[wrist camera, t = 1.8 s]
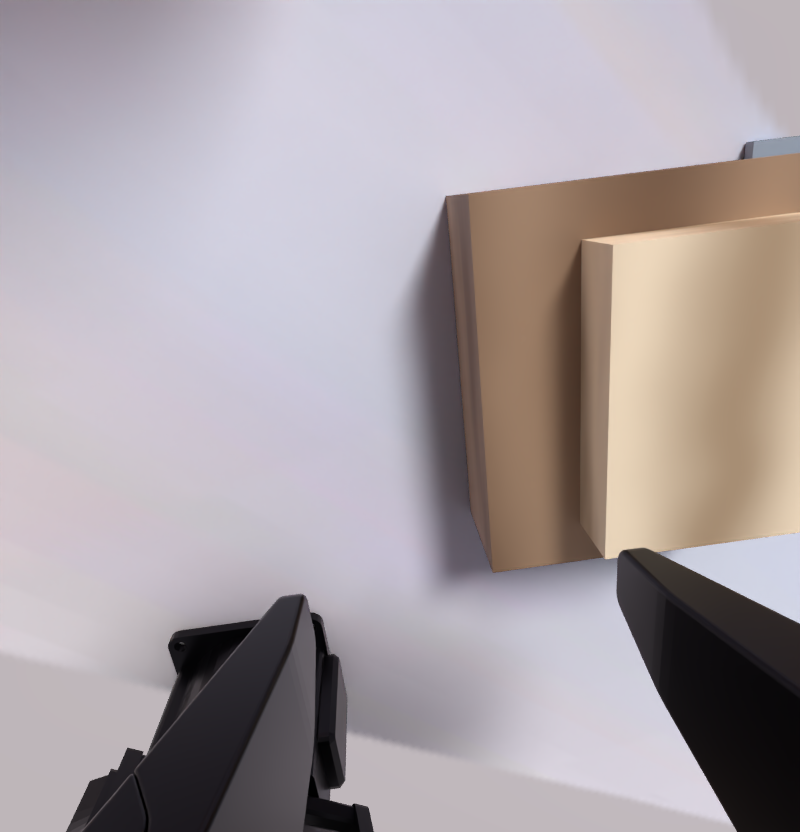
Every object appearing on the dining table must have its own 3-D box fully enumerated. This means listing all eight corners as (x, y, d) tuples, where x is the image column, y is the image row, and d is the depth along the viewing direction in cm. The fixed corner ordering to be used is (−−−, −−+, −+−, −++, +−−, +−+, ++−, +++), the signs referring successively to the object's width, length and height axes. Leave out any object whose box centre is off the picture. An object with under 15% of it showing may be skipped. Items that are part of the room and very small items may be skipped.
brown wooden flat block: (470, 511, 22) (492, 572, 19) (446, 196, 18) (468, 194, 14) (711, 478, 23) (780, 532, 19) (744, 159, 18) (842, 147, 15)
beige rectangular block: (580, 523, 18) (605, 559, 16) (581, 239, 15) (613, 244, 13) (757, 498, 18) (802, 531, 16) (797, 212, 15) (859, 213, 13)
